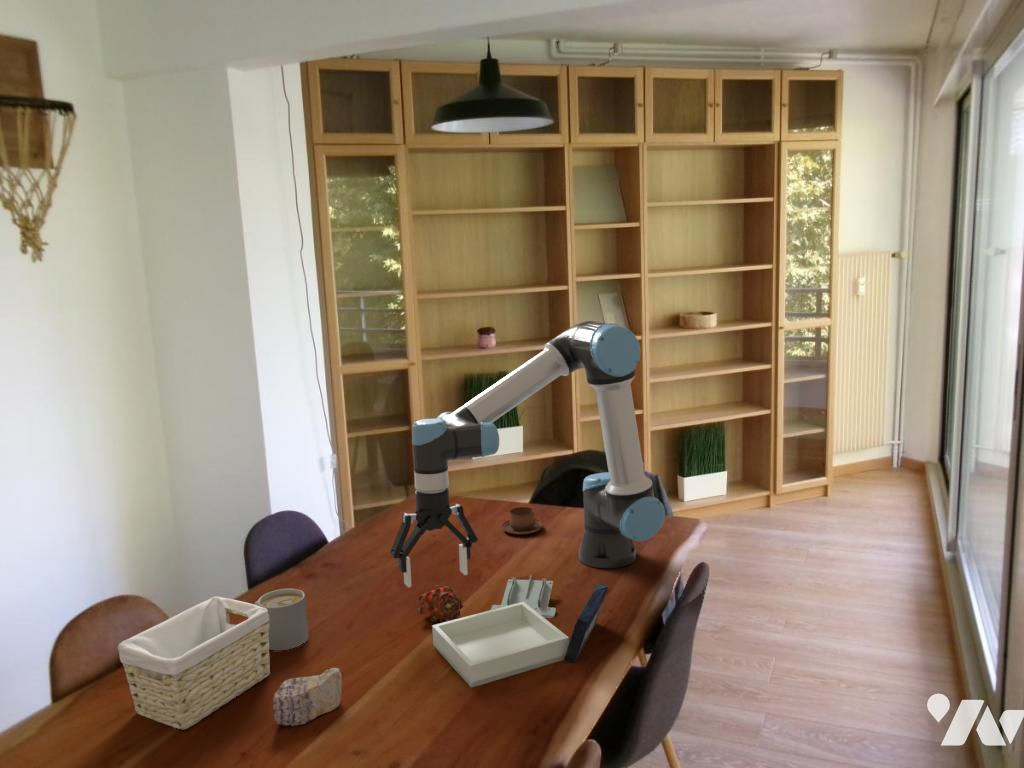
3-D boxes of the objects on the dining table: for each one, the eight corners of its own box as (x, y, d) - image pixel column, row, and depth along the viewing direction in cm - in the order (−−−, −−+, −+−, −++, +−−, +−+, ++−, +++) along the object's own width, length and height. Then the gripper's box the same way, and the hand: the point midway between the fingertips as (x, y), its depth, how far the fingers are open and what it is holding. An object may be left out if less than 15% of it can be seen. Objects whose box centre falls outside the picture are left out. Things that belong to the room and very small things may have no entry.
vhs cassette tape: (574, 665, 166) (588, 623, 163) (561, 659, 167) (574, 617, 164) (598, 626, 183) (610, 587, 180) (585, 620, 184) (598, 581, 181)
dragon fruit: (461, 634, 184) (423, 628, 192) (477, 601, 189) (440, 596, 197) (440, 612, 180) (402, 607, 187) (457, 579, 185) (420, 576, 192)
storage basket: (180, 738, 146) (170, 661, 144) (122, 716, 154) (112, 643, 152) (279, 675, 167) (272, 607, 164) (223, 658, 175) (216, 593, 172)
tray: (524, 620, 186) (523, 601, 185) (569, 658, 168) (568, 637, 167) (433, 645, 176) (432, 625, 175) (471, 687, 158) (469, 666, 158)
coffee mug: (317, 637, 182) (314, 595, 180) (279, 656, 174) (275, 611, 173) (281, 622, 190) (277, 581, 189) (244, 639, 183) (239, 596, 181)
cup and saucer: (505, 523, 251) (504, 504, 250) (544, 524, 249) (543, 504, 248) (499, 537, 239) (498, 517, 238) (540, 538, 238) (539, 517, 237)
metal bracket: (500, 570, 201) (561, 573, 198) (502, 589, 203) (563, 592, 200) (488, 611, 188) (552, 614, 185) (491, 630, 191) (555, 634, 187)
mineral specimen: (326, 689, 160) (323, 657, 159) (349, 703, 155) (346, 670, 154) (261, 720, 151) (258, 685, 150) (283, 736, 146) (279, 701, 144)
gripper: (476, 476, 192) (479, 562, 196) (372, 493, 181) (378, 584, 185) (489, 484, 185) (492, 573, 189) (383, 502, 174) (388, 596, 178)
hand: (436, 579), depth 187 cm, fingers open, 13 cm apart
